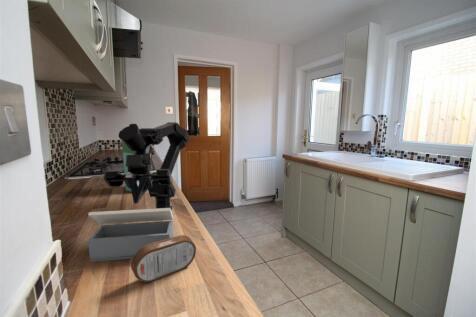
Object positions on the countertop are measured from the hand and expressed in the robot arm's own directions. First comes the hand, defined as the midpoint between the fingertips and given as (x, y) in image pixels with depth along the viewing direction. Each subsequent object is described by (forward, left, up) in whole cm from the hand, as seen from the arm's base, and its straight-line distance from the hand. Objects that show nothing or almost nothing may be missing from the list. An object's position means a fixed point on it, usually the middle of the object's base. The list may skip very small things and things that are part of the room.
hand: (135, 203), depth 67 cm
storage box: (+4, 0, -12) cm, 13 cm away
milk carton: (-56, -13, -13) cm, 59 cm away
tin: (+16, +10, -13) cm, 22 cm away
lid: (+3, 0, -3) cm, 4 cm away
